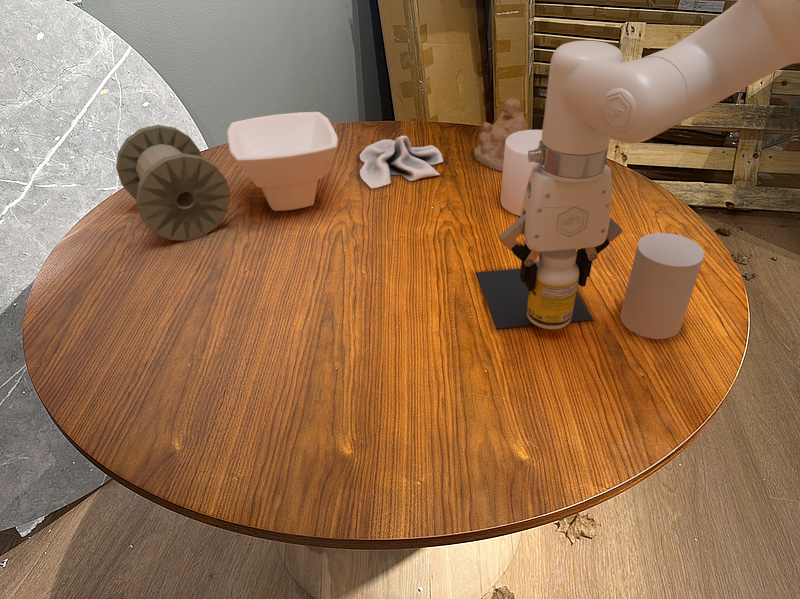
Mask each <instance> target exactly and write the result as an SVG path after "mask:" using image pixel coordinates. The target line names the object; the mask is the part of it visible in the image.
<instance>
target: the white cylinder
mask: <svg viewBox="0 0 800 599" xmlns="http://www.w3.org/2000/svg"><path fill="white" fill-rule="evenodd" d="M542 130H543V129H526V130H524V131H519V132H516V133H513V134H511V135H510V136H509V137H508V138H507V139H506V141H505V150H504V162H503V171H502V176H501V186H500V187H501V188H500V204H501V207H502V208H503V209H504V210H506V211H507V212H508V213H510V214H513V215H515V216H517V217H521V211H522V205H523V200H524V195H525V191H526V187H527V183H528V180H529V177H530V174H531V171H532V169H533V166H534V164H536V163H535V162H529V161H528V151H529V150H535V149H538V146H539V141H541V140H542Z"/></svg>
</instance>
